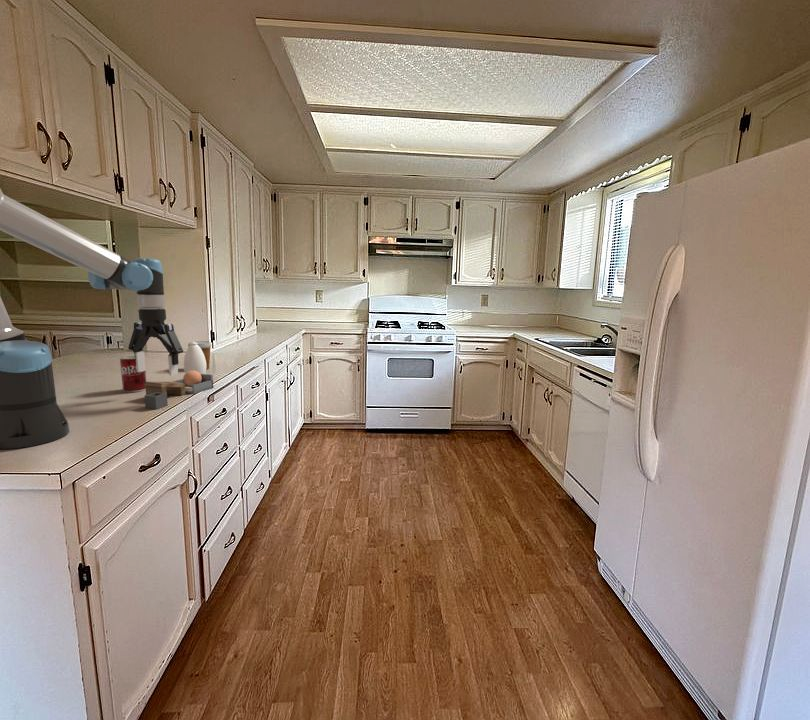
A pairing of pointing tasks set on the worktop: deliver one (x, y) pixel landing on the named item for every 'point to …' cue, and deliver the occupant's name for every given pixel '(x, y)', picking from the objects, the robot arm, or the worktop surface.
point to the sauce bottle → (194, 359)
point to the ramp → (165, 388)
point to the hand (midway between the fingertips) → (157, 373)
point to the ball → (192, 378)
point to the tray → (204, 385)
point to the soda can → (131, 375)
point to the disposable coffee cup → (205, 350)
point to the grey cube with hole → (156, 400)
